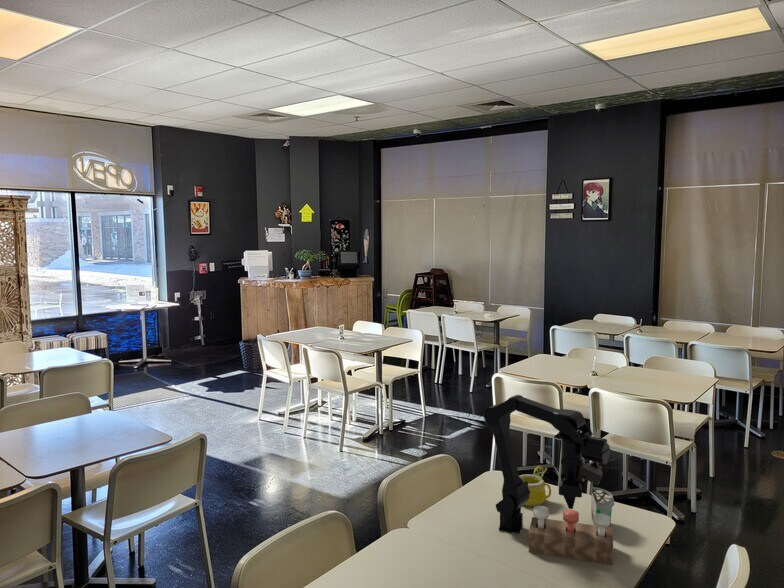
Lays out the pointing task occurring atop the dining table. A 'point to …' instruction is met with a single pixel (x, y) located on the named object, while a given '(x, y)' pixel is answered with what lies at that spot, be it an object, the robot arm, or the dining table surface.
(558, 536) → the walnut plug block
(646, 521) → the dining table surface
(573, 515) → the salmon round-head knob
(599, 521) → the right grey plug
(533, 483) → the mug
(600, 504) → the food container
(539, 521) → the left grey plug
